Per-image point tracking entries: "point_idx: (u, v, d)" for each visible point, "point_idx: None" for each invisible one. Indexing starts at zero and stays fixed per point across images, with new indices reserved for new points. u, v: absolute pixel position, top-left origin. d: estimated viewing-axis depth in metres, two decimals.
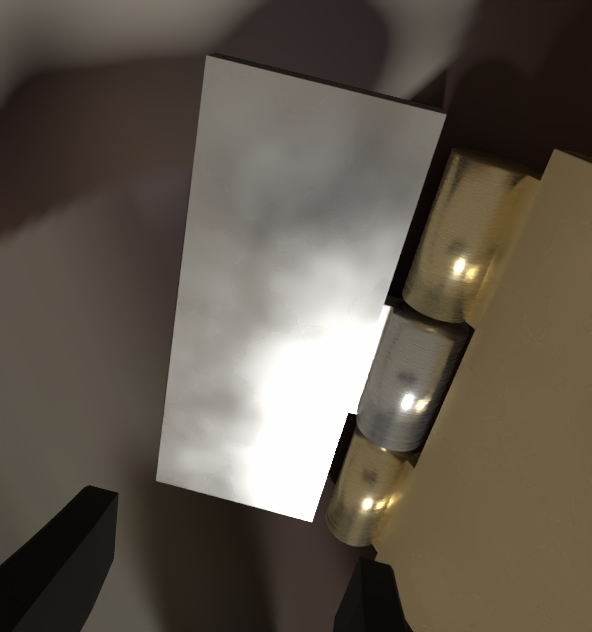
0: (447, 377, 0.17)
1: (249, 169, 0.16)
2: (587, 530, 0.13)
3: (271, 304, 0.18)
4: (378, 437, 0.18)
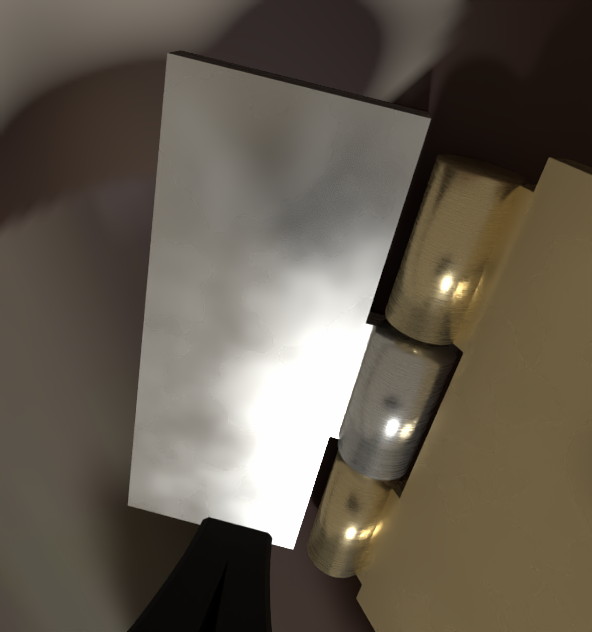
0: (434, 402, 0.16)
1: (218, 177, 0.15)
2: (585, 580, 0.12)
3: (245, 322, 0.17)
4: (360, 465, 0.17)
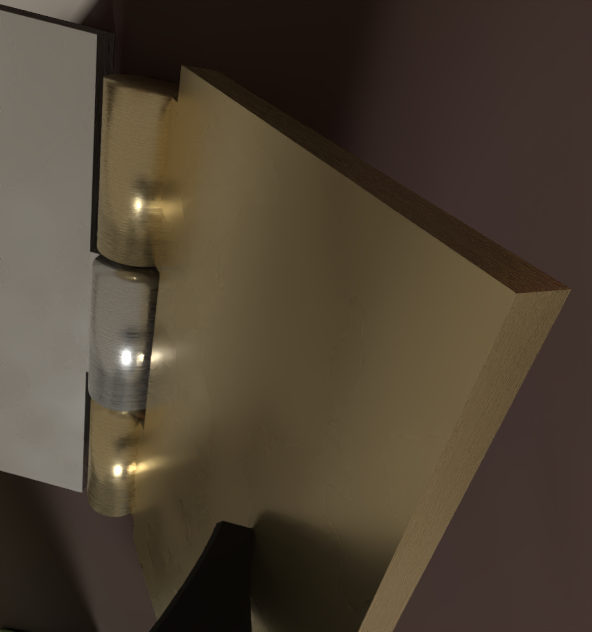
0: None
1: None
2: (216, 480, 0.12)
3: None
4: (98, 396, 0.17)
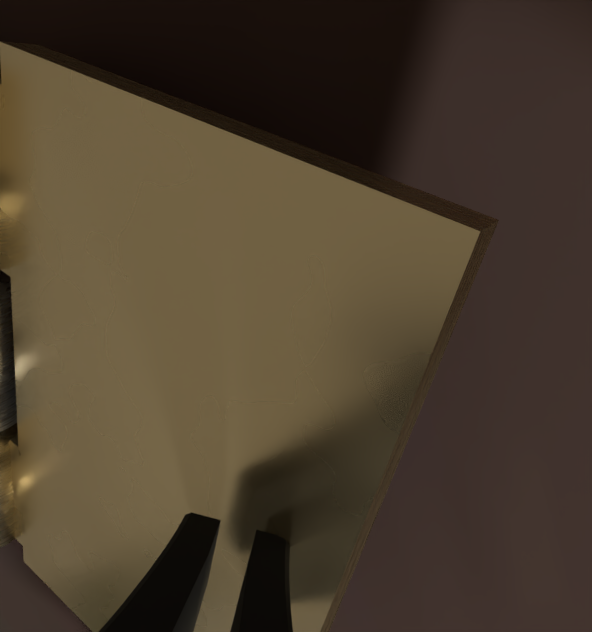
0: None
1: None
2: (153, 463, 0.12)
3: None
4: None
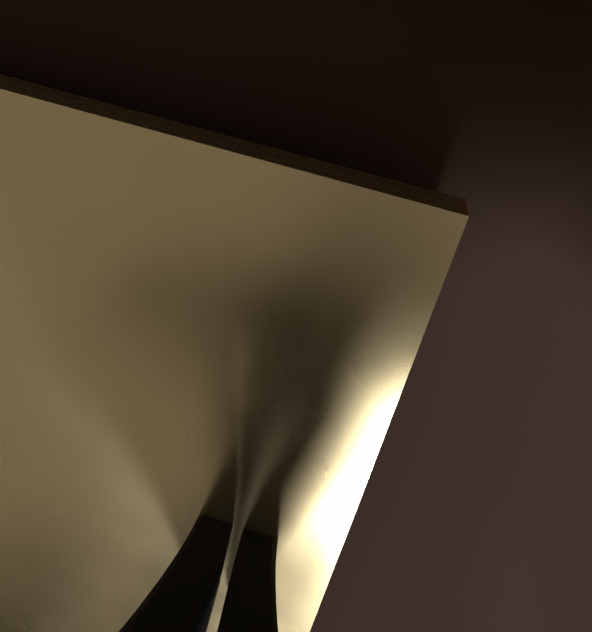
0: None
1: None
2: (101, 502, 0.11)
3: None
4: None
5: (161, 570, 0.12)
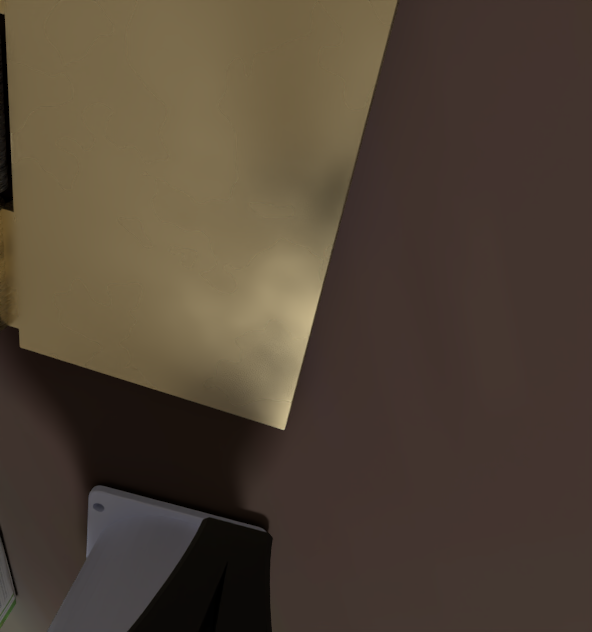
0: None
1: None
2: (180, 151, 0.16)
3: None
4: None
5: (220, 215, 0.16)
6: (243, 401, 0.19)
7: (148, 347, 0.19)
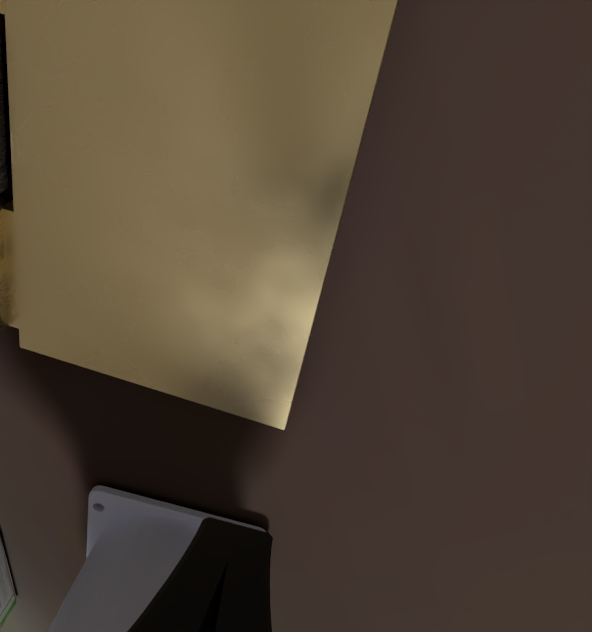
0: None
1: None
2: (180, 151, 0.16)
3: None
4: None
5: (220, 215, 0.16)
6: (243, 401, 0.19)
7: (148, 347, 0.19)
